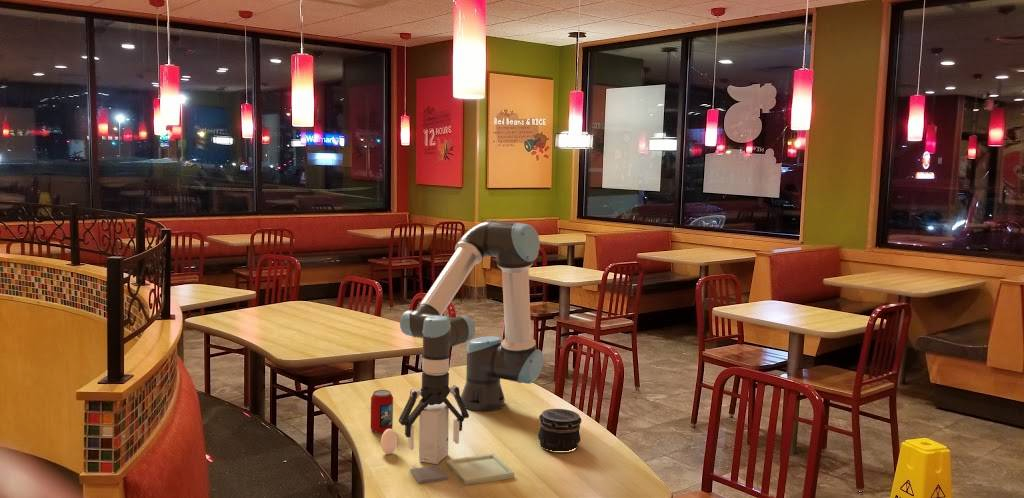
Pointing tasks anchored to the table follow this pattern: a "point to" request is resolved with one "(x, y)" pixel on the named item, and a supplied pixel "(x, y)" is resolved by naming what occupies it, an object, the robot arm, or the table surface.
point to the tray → (480, 469)
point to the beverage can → (381, 411)
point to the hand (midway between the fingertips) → (433, 445)
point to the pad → (429, 474)
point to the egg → (389, 441)
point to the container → (559, 429)
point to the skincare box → (433, 433)
